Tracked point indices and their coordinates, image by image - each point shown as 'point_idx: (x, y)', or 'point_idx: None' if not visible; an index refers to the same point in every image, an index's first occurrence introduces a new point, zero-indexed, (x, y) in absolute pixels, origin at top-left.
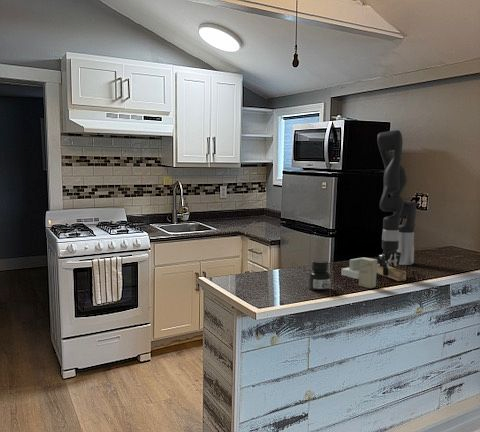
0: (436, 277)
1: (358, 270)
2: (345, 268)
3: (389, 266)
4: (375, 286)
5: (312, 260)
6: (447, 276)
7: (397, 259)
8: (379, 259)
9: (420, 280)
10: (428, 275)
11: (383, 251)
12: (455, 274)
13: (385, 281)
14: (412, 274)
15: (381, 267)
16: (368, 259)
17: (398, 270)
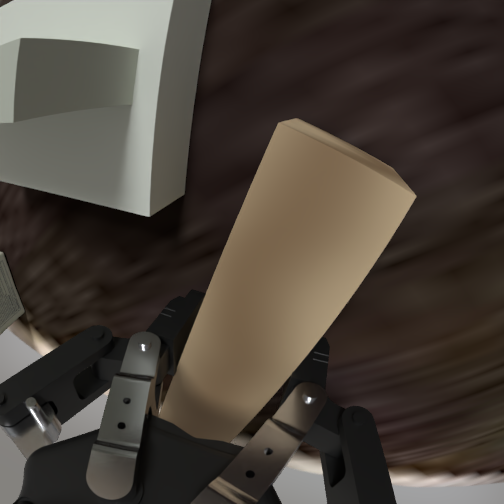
0: (418, 471)
1: (17, 128)
2: (10, 13)
3: (294, 360)
4: (22, 312)
5: None
6: (456, 479)
7: (329, 486)
8: (26, 375)
9: (301, 452)
10: (450, 447)
11: (22, 486)
12: (501, 475)
13: (114, 327)
14: (444, 400)
15: (212, 283)
16: None
17: (197, 431)
